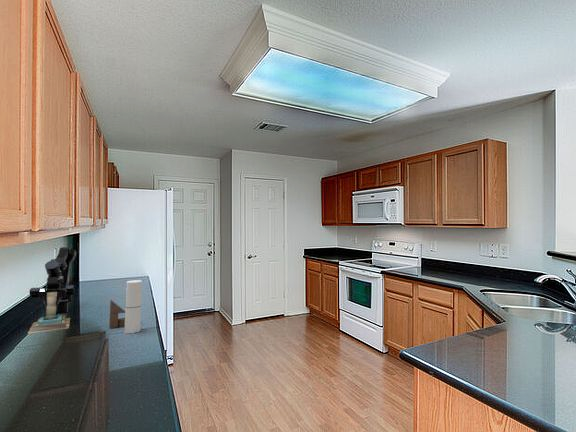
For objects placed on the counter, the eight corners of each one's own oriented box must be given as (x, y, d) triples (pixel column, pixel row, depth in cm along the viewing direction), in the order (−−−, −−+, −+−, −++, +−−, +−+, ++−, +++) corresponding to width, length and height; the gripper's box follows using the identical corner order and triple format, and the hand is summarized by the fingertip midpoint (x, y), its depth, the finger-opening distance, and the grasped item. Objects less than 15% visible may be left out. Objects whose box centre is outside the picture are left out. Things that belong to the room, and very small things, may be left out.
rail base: (33, 324, 164) (33, 317, 164) (70, 319, 173) (70, 313, 173) (27, 335, 147) (27, 328, 147) (68, 329, 156) (68, 323, 156)
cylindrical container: (124, 334, 151) (126, 282, 152) (124, 330, 157) (126, 280, 158) (140, 332, 154) (142, 282, 155) (140, 328, 160) (141, 279, 161)
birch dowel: (48, 316, 160) (49, 291, 161) (57, 316, 161) (58, 291, 162) (44, 319, 156) (45, 293, 157) (53, 318, 157) (54, 292, 158)
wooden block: (109, 326, 162) (110, 292, 163) (131, 323, 168) (133, 290, 169) (109, 328, 159) (111, 293, 160) (133, 325, 165) (134, 291, 166)
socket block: (40, 325, 160) (40, 317, 160) (61, 322, 165) (62, 314, 165) (38, 330, 152) (38, 321, 153) (60, 327, 157) (61, 319, 157)
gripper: (31, 272, 158) (26, 298, 148) (75, 270, 168) (73, 294, 158) (32, 285, 164) (28, 311, 155) (74, 282, 174) (73, 306, 165)
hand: (51, 305), depth 158 cm, fingers closed on birch dowel, 4 cm apart
